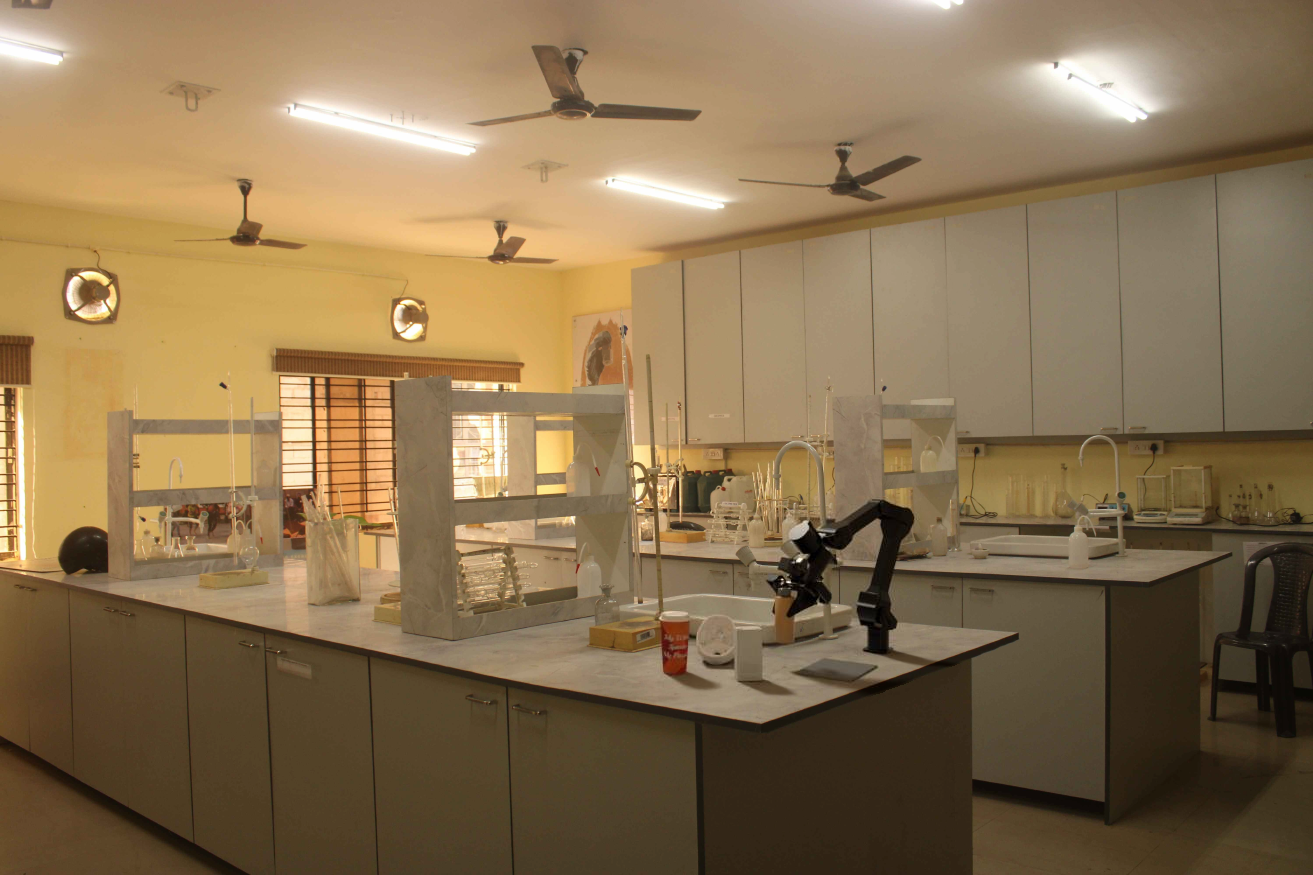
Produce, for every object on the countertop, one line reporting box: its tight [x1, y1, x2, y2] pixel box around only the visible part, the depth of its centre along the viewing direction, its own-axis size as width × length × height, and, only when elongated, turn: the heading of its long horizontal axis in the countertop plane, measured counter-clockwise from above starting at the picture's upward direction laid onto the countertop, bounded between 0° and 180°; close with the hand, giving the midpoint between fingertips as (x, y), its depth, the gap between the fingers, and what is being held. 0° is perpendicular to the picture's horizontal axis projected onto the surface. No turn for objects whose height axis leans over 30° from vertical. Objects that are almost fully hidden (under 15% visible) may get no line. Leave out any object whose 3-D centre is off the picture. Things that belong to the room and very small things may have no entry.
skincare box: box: [733, 625, 763, 682], centre depth 222 cm, size 6×4×12 cm
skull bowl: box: [695, 614, 736, 666], centre depth 242 cm, size 10×14×12 cm
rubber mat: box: [794, 657, 878, 683], centre depth 232 cm, size 18×14×1 cm
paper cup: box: [658, 610, 692, 676], centre depth 229 cm, size 8×8×14 cm
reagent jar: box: [774, 587, 796, 644], centre depth 235 cm, size 5×5×13 cm
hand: (780, 614), depth 234 cm, fingers closed on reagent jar, 5 cm apart
